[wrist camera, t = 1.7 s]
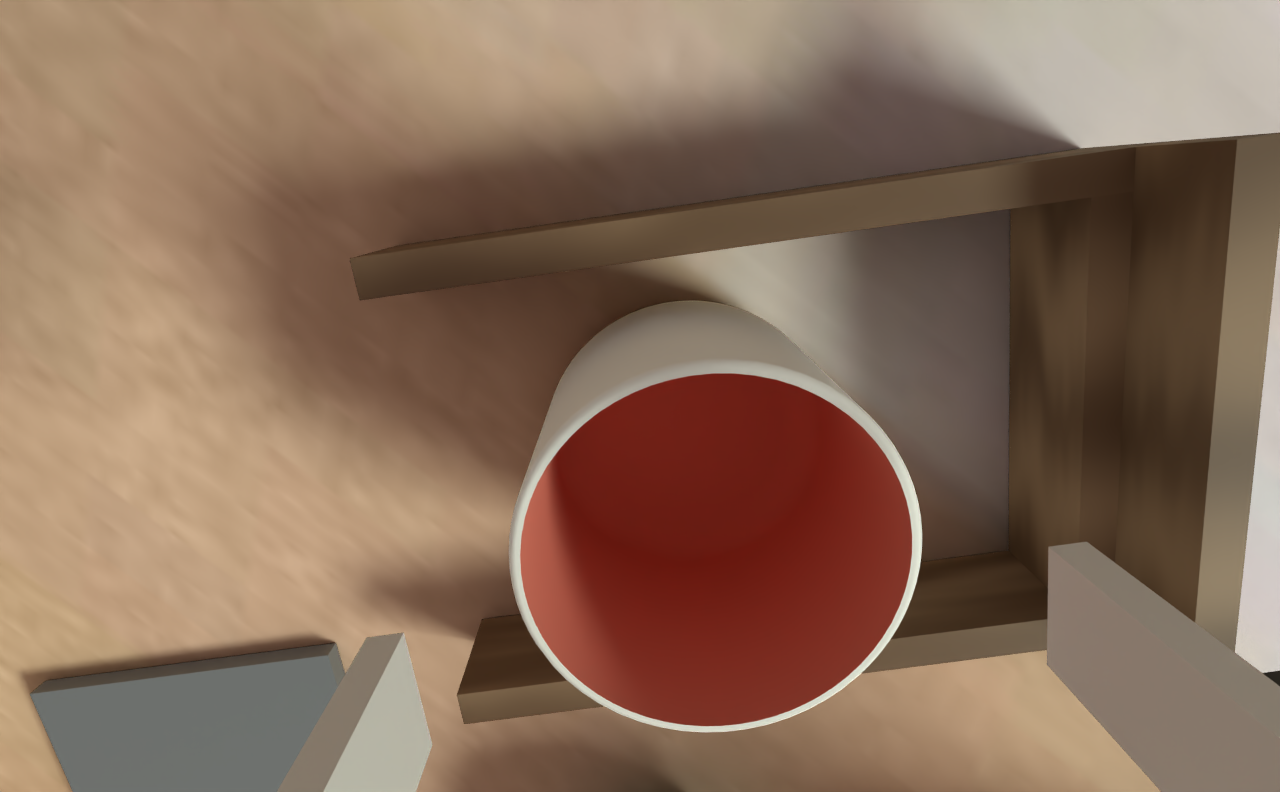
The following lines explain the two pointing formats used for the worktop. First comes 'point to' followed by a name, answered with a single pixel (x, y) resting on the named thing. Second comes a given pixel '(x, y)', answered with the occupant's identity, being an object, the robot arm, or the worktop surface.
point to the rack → (1039, 373)
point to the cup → (710, 524)
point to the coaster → (190, 721)
